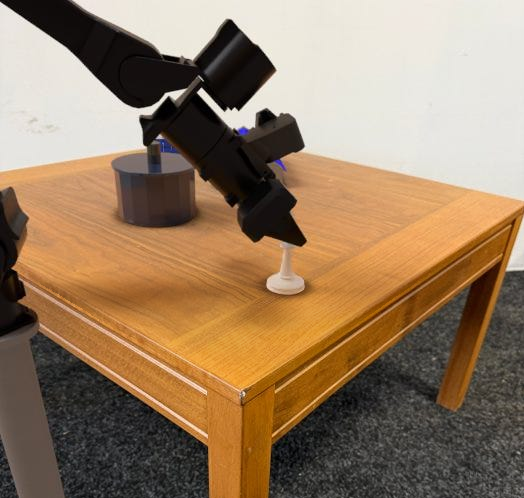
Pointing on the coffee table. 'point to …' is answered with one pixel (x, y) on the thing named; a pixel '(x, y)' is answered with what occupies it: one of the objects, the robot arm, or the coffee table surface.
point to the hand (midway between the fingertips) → (299, 237)
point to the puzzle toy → (166, 145)
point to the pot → (156, 199)
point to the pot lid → (152, 163)
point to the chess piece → (286, 273)
